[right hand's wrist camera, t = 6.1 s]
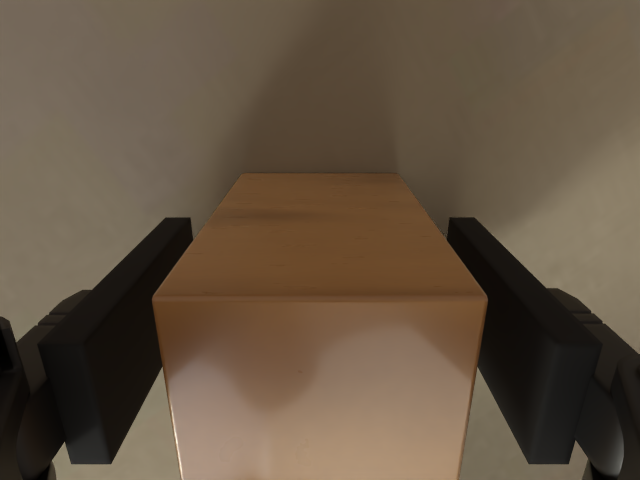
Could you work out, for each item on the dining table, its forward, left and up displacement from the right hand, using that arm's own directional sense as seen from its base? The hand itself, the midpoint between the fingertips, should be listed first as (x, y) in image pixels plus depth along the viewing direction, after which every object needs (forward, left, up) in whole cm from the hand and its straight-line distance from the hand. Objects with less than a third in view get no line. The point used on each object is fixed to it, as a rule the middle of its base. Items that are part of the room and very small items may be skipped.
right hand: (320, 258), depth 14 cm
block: (0, 0, -1) cm, 1 cm away
